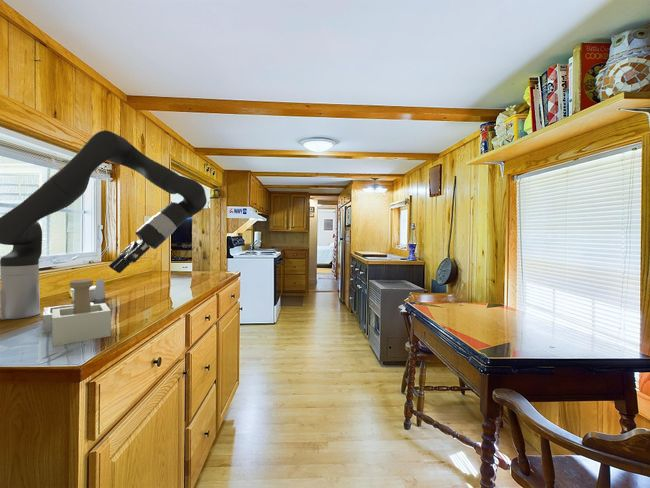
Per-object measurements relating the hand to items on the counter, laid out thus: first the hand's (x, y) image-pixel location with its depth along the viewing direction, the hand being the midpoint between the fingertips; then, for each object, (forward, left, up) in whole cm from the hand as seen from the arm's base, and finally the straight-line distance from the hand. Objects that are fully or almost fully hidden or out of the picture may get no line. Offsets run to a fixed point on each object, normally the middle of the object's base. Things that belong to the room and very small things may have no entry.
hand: (113, 269), depth 90 cm
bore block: (-10, +15, -18) cm, 25 cm away
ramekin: (-2, +56, -18) cm, 59 cm away
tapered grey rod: (0, +36, -18) cm, 40 cm away
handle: (-7, 0, -18) cm, 19 cm away
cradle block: (-7, 0, -18) cm, 19 cm away
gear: (-4, +68, -18) cm, 70 cm away
